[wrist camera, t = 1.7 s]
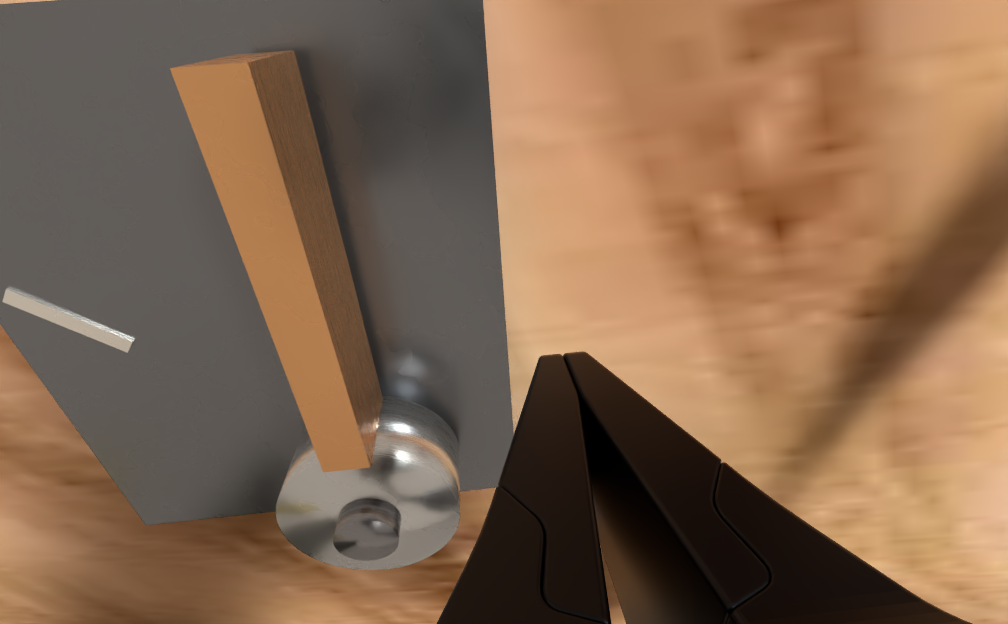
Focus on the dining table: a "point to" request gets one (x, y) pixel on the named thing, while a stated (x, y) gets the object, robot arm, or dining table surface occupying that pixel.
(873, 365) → the dining table surface
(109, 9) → the chuck base plate
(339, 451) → the wooden bar
